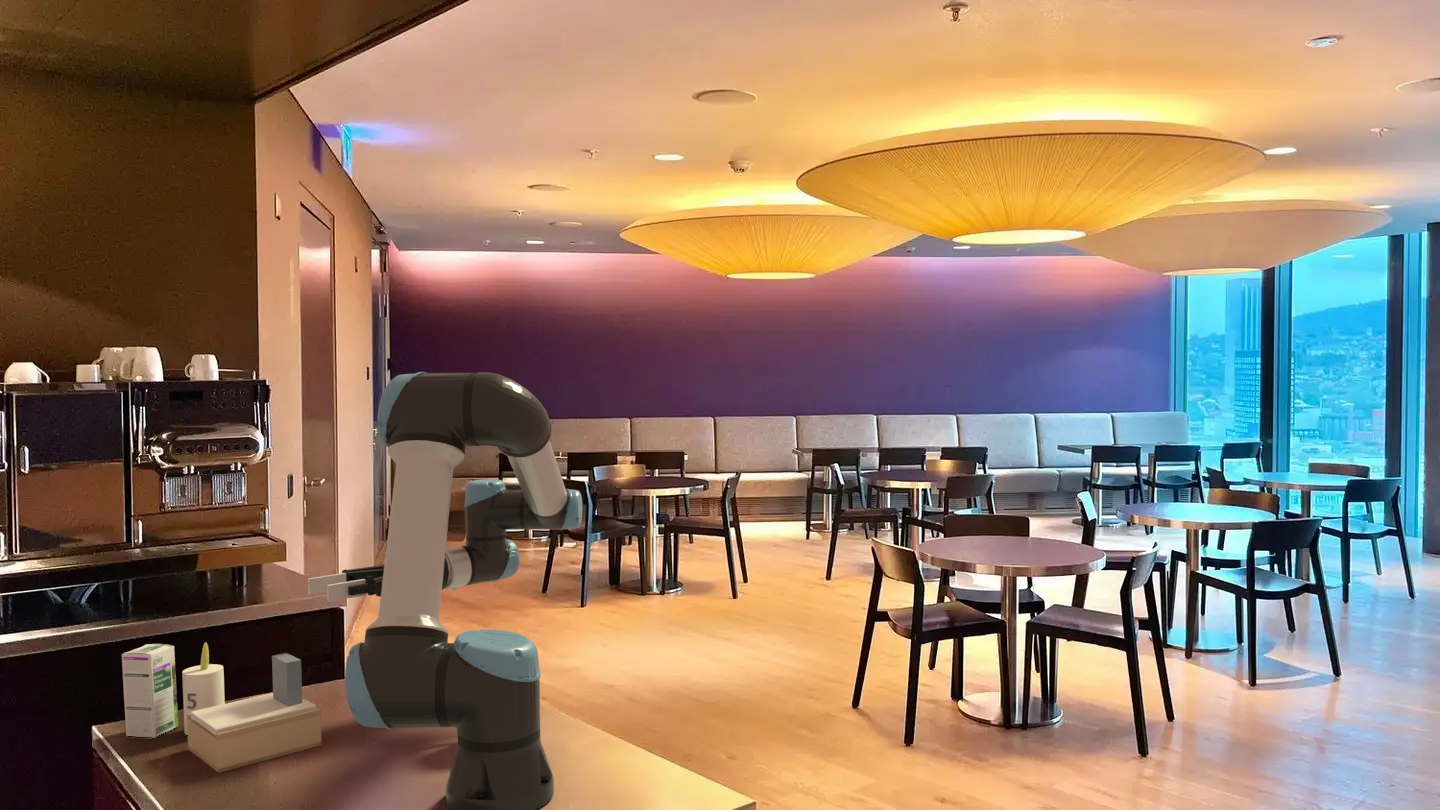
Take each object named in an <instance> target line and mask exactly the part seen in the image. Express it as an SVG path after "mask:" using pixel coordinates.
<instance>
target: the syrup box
mask: <svg viewBox="0 0 1440 810" xmlns="http://www.w3.org/2000/svg"><path fill="white" fill-rule="evenodd" d="M175 654H176V653H175V646H174V645H172V644H167V643H166V644H164V643H152V644H151V643H149V644H148V643H147V644H144V645H143V646H141V647H138V648H134V649H131V650H130V651H127V652H124V653H122V654H121V663H122V664H121V665H122V683H123V702H124V717H125V735H126V737H128V736H136V737H152V738H155V737H157V736H158V737H160V736H161V734H162V735H164V734H165V732H166V733H168V732H170V731H172V730H174V728H175V729H177V728H178V727H179V715H178V714H179V712H178V697H177V696H178V694H177V692H178V691H177V677H176V661H175V660H176V657H175ZM176 727H177V728H176ZM163 733H164V734H163ZM159 735H160V736H159ZM158 737H157V738H158ZM152 738H151V739H152ZM155 739H156V738H155Z"/></svg>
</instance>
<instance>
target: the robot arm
mask: <svg viewBox="0 0 1440 810" xmlns="http://www.w3.org/2000/svg"><path fill="white" fill-rule="evenodd" d="M550 420H551V419H550V417H549V415H548V412H547V410H546V409H545V407H544V406H543V404H542V403H541V402H540V401H539V399H538V398H537V397H536V396H535V395H534V394H533V393H532V392H531V391H530V390H528V389H527V388H525V387H524V386H523V385H521V384H520V383H518V382H516V381H515V380H513V379H511V378H509V377H507V376H503V375H502V374H499V373H493V372H488V371H487V372H486V371H485V372H484V371H482V372H480V371H478V372H426V371H418V372H416V373H405V374H398V375H396V376H394V377H393V378H392V379H391V380H389V382H388V383H387V384H386V386H385V388H384V389H383V391H382V394H381V396H380V401H379V405H378V410H377V421H378V425H377V434H378V438H379V441H380V442H381V444H382V445H383V446H385V447H387V456H389V457H390V458H391V460H393V462H394V463H395V473H394V481H393V489H392V490H393V491H392V497H391V508H390V516H389V524H388V533H387V541H386V549H385V558H384V564H381V565H380V564H379V565H375V566H365V567H357V568H352V569H351V568H350V569H343V570H342V571H341V573H336V574H327V575H321V576H317V577H316V576H315V577H309V578H307V594H308V595H310V596H311V595H317V594H322V593H326V601H327V602H329V603H331V602H335V601H342V600H347V599H353V598H358V597H363V596H367V595H368V596H374V595H375V596H376V597H380V600H379V608H378V610H379V611H378V615H377V616H378V617H377V618H376V620H374V621H373V622H372V623H371V624H370V625H368V626H367V627H366V629H365V634H364V640H363V641H364V642H358V643H357V644H354V645H352V646H351V647H350V649H349V651H348V656H347V657H346V661H345V671H344V682H345V683H344V684H345V692H346V693H345V695H346V700H347V703H348V706H349V710H350V713H351V715H352V716H353V718H354V719H355V721H356V722H357V723H359V725H361V726H363V727H366V728H381V729H383V728H384V729H387V730H394V728H396V729H397V728H398V729H399V728H456V732H457V734H456V735H457V749H456V752H455V754H454V759H453V761H452V765H451V768H450V772H449V775H448V778H447V781H446V785H445V786H446V787H445V803H446V804H445V805H446V806H447V808H448V810H535V809H536V810H538V809H540V808H542V807H543V806H545V805H546V804H548V803H549V802H550V801H551V800H552V799H553V797H554V792H555V791H554V790H555V789H554V788H555V786H554V785H555V784H554V782H555V781H554V774H553V772H552V768H551V766H550V763H549V761H548V760H549V759H548V758H547V754H546V752H545V749H544V746H543V743H542V740H541V688H540V686H541V685H540V682H541V681H540V678H541V669H540V664H539V663H540V661H539V651H538V648H537V646H536V644H535V643H534V642H533V641H532V640H531V639H530V638H528V637H526V636H525V635H522V634H520V633H518V632H517V633H516V632H513V631H508V630H502V629H501V630H500V629H486V628H485V629H484V628H483V629H480V630H476V629H471V630H466V631H463V632H461V633H459V634H458V635H457V636H456V637H455V639H454V641H453V642H452V643H451V642H450V643H449V642H448V641H449V631H448V630H447V629H446V628H445V627H444V625H443V624H442V623H441V622H440V615H441V613H440V612H441V611H440V610H441V603H442V591H443V590H448V589H449V590H450V589H452V591H453V592H454V591H457V590H458V588H459V587H466V586H471V585H478V584H483V583H489V582H495V583H496V582H497V581H500V580H505V579H508V578H511V577H513V576H515V574H516V573H517V572H518V570H519V567H520V562H521V558H520V556H521V555H520V554H519V553H518V552H519V551H518V550H519V548H518V546H517V545H516V543H515V542H514V541H513V540H511V539H508V538H507V533H506V531H510V530H515V531H516V530H524V531H525V530H528V531H529V530H533V531H534V530H538V531H539V530H540V531H541V530H542V531H543V530H545V531H546V530H548V531H549V530H550V531H551V530H552V531H553V530H554V531H555V530H556V531H558V530H559V531H563V530H570V529H571V530H573V529H577V528H579V527H580V526H581V524H582V520H583V519H582V518H583V497H582V494H581V492H580V491H579V490H577V489H569V488H566V485H565V484H564V480H563V478H562V474H561V471H560V467H559V464H558V461H557V459H556V455H555V453H554V450H553V447H552V443H551V441H550V440H551V437H552V430H553V429H552V424H551V421H550ZM480 446H481V447H482V446H485V447H486V446H487V447H488V446H489V447H490V446H491V447H497V449H498V450H499V451H500V452H501V453H502V454H503V455H505V456H507V459H508V462H509V463H510V467H511V468H512V470H513V473H514V475H515V478H516V480H517V483H518V484H519V487H520V489H507V487H506V483H505V481H503V480H502V479H491V478H486V479H477V480H471V481H469V482H467V484H466V485H465V488H464V489H465V491H464V495H465V497H464V504H463V508H464V518H465V519H464V521H465V522H464V523H465V545H461V546H460V545H457V546H456V545H455V546H452V547H447V540H448V531H449V530H448V528H449V517H450V509H451V508H450V507H451V497H452V488H453V477H454V476H453V475H454V469H455V468H456V467H457V466H459V465H460V464H462V463H463V462H464V460H465V454H466V447H480ZM550 799H551V800H550ZM548 801H549V802H548ZM541 806H542V807H541ZM537 808H538V809H537Z"/></svg>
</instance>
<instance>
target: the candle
mask: <svg viewBox="0 0 1440 810" xmlns="http://www.w3.org/2000/svg"><path fill="white" fill-rule="evenodd" d="M209 653H210V651H209V644H208V643H207V642H204V643H203V646H202V652H201V655H200V656H201V657H200V664H199V665H194V666H191V667H188V668H185V669H183V670H182V673H181V674H182V697H183V699H182V700H183V726H184V727H183V729H184V735H185V734H186V735H188V729H187V713H190V712H192V711H196V710H200V709H205V708H209V707H214V706H218V705H222V704H226V701H225V700H226V699H225V675H224V665H222V664H213V663H210V654H209ZM186 735H185V736H186Z"/></svg>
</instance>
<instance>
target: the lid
mask: <svg viewBox="0 0 1440 810" xmlns="http://www.w3.org/2000/svg"><path fill="white" fill-rule="evenodd" d="M271 663H272V665H271V667H272V669H271V670H272V692H271V693H268V694H263V695H259V696H253V697H249V698H244V699H240V700H236V701H232V702H228V703H225V704H222V705H218V706H214V707H209V708H205V709H200V710H196V711H192V712H190V713H191V718H192V719H193V720H194V721H196V722H197V723H199V724H200V725H202V726H203V727H204V728H206V729H207V730H209V731H210V732H212V733H213V734H214V735H216V734H217V733H221V732H225V731H229V730H233V729H237V728H241V727H245V726H249V725H253V724H258V723H262V722H266V721H270V720H274V719H278V718H282V717H286V716H290V715H294V714H298V713H302V712H307V711H311V710H315V709H317V705H316V704H315V703H312V702H311V701H309V700H307V699H305V698H303V682H302V681H303V680H302V679H303V675H302V659H301V658H298V657H295V656H294V655H292V654H290V653H287V652H285V653H279V654H275V655H271Z"/></svg>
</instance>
